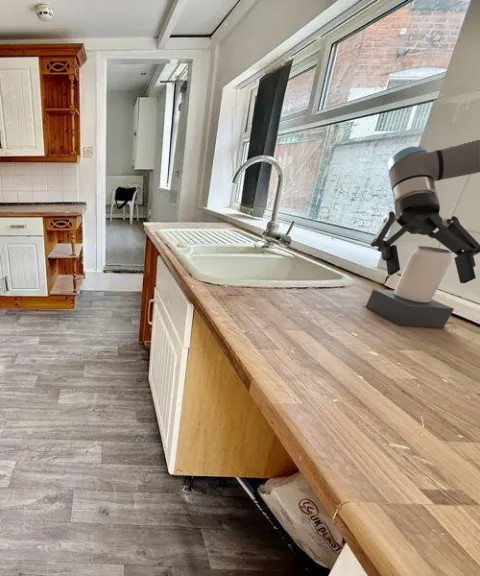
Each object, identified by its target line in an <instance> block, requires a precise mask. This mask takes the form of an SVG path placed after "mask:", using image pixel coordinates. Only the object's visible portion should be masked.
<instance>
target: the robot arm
mask: <svg viewBox="0 0 480 576" xmlns="http://www.w3.org/2000/svg"><path fill="white" fill-rule="evenodd" d="M459 144H460V145H458V144H455V145H451V146H450V147H444V148H442V149H437V150H435V149H434V150H431V151H428V150H427V148H425V147H424V146H415V145H413V146H408V147H405V148H402V149H400V150H397V152H395V153H394V154H393V155H392V156H391V157H390V158H389V160H388V163H387V165H388V177H389V182H390V188H391V191H392V193H391V194H392V199H393V205H394V211H389V212H388V213H386V215H384V216H383V217H382V218H381V226H380V227H379V228H378V230H377V232H376V233H375V235H374V236H373V239H372V240H371V242H370V244H369V245H370V247H372V248H375V247H377V248H376V250H377V251H378V252H380V254H381V258H382V260H383V261H385V264H386V270H387V275H388V276H393V275H395V274H396V273H398V272H399V271H401V266H400V265H401V264H400V259H399V253H398V247H397V246H398V245H396V244H393V243H395V242H397V241H398V240H399V239H400V238H401V237H402V236H403V235H404V234H405V233H409V234H410V235H421V236H428V237H429V238H430V239H435V240H436V241H438V242H439V243H440V244H441V245H443V246H444V247H445V248H446V249H447V250H449V251H452V253H453V254H455V255H456V256H455V257H454V258H453V259H454V263H455V267H456V271H457V275H458V279H459V283H460V284H467V283H468V282H472V281H473V280H475V279H477V276H476V273H475V269H474V268H475V267H476V265H477V264H476V261H475V257H474V256H476V255H478V254H480V243H479V242H478V241H477V239H475V238H474V237H473V236H472V234H471V233H469V231H468V230H466V228H465V227H464V226H463V225H462V224H461V223H460V220H459V218H458V217H457V216H455V215H453V216H451V217H450V218H443V217H442V216H441V215H440V212H441V211H440V210H441V205H440V200H439V197H438V192H437V188H436V187H437V186H436V183H435V182H439V181H441V180H446V179H447V180H449V179H453V178H459V177H464V176H469V175H473V174H474V175H475V174H478V173H480V140H476V141H472V142H468V143H464V144H461V143H459ZM394 223H397V224H398V225H399V226H400V228H399V229H398V230H397V231H395V233H393V234H392V235H391V236H390V237H388V239H386V240H384V239H385V237H386V235H387V234H388V232H389V231H390V229H391V227H392V226H393V224H394ZM437 229H438V230H437ZM436 230H437V231H436ZM434 231H435V232H434Z"/></svg>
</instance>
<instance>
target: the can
mask: <svg viewBox="0 0 480 576" xmlns="http://www.w3.org/2000/svg"><path fill="white" fill-rule="evenodd" d="M452 253H453V252H452V251H451V250H449V249H445V248H440V247H433V246H428V245H418V246H416V248H415V250H414V249H413V251H411V253H410V255H409V257H408V259H407V262H406V264H405V266H404V268H403V270H402V273H401V275H400V276H399V277H400V278H399V279H398V281H397V284H396V286H395V287H394V290H395V291H394V294H395V295H396V296H397V297H399V298H402V299H405V300H408V301H412V302H418V303H428V302H430V301H431V300H433V298H434V296H435V294H436V292H437V290H438V288H439V286H440V284H441V282H442V281H443V278H444V276H445V275H446V272H447V270H448V269H449V267H450V264H451V262H452V260H453V259H452Z"/></svg>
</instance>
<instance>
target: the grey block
mask: <svg viewBox="0 0 480 576" xmlns="http://www.w3.org/2000/svg"><path fill="white" fill-rule="evenodd" d="M394 291H395V289H380V288H373V289H372V291H371V293H370V296H369V298H368V301H367V303H366V305H365V307H366V308H368V309H369V310H371V311H373V312H375V313H376V314H378V315H380V316H382V317H384V318H385V319H387V320H389V321H390V322H392V323H394V324H396V325H398V326H403V327H404V326H406V327H419V328H433V329H434V328H435V329H444V328H445V327H446V324H447V323H448V321H449V319H450V317H451V315H452V314H453V312H454V311H455V308H453V307H451V306H449V305H447V304H444V303H442V302H440V301H437V300H435V299H432V300H431V301H430V302H428V303H418V302H412V301H408V300H405V299H402V298H399V297H397V296H396V295H395V294H394Z"/></svg>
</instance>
